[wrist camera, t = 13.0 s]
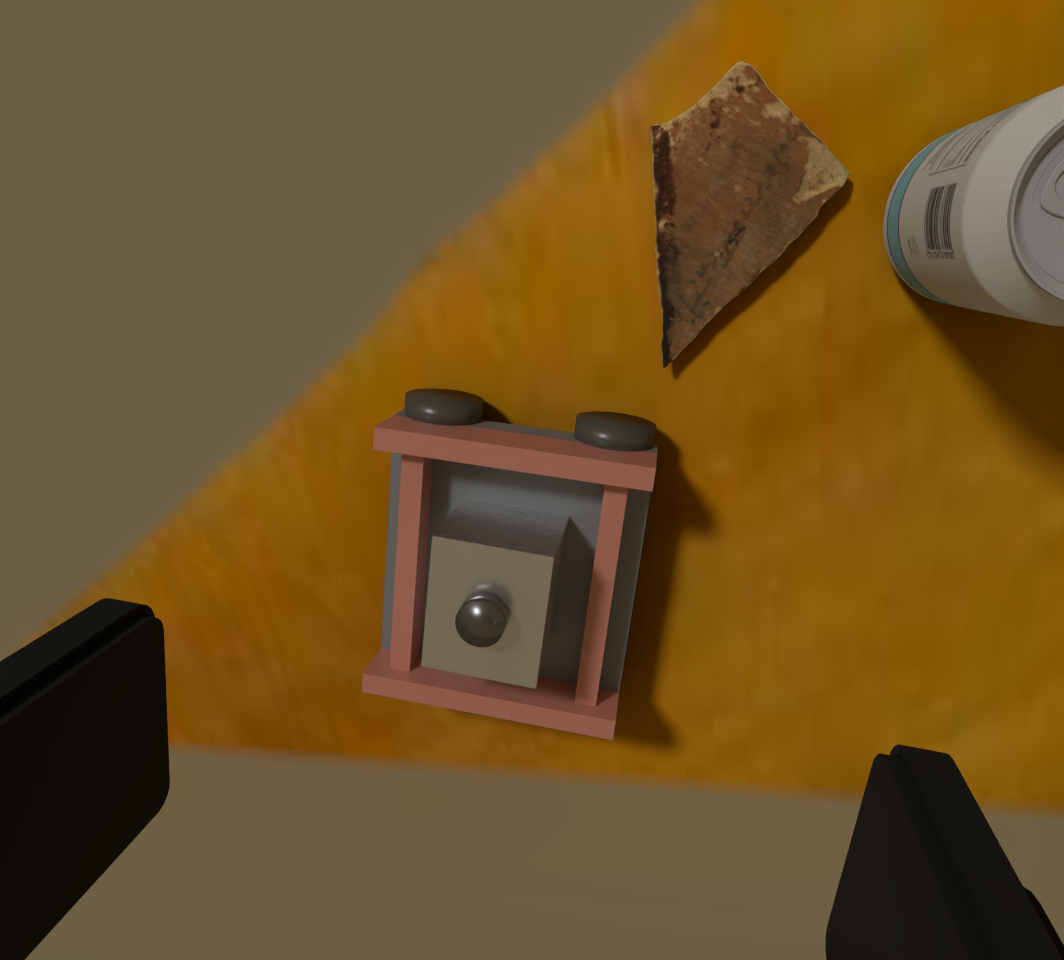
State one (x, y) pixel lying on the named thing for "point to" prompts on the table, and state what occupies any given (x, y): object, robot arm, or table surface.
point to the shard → (730, 197)
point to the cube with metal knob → (493, 591)
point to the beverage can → (987, 215)
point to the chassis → (529, 483)
